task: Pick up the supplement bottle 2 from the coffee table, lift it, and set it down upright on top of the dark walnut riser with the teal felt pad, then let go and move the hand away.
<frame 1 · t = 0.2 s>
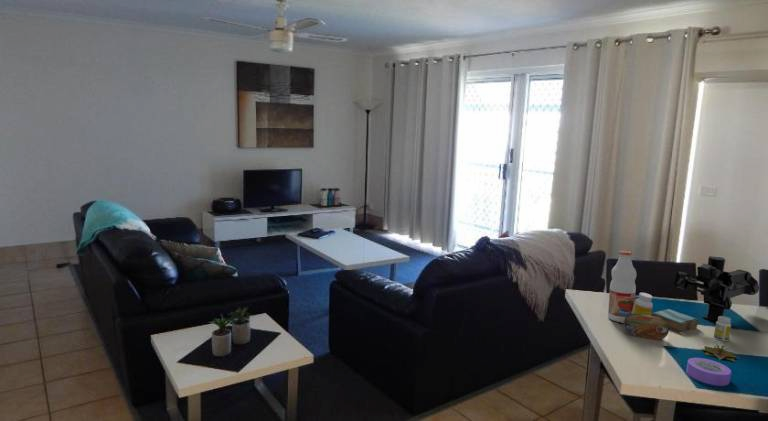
hand: (688, 289, 194), 17 cm above the table, tool horizontal, fingers open, 9 cm apart
riser: (673, 324, 202), on the table
masking tape: (707, 377, 159), on the table
supplement bottle 2: (720, 339, 190), on the table
supplement bottle: (637, 325, 199), on the table, touching fruit juice
fruit juice: (620, 319, 204), on the table, touching supplement bottle
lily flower: (718, 356, 176), on the table
tin: (644, 337, 188), on the table
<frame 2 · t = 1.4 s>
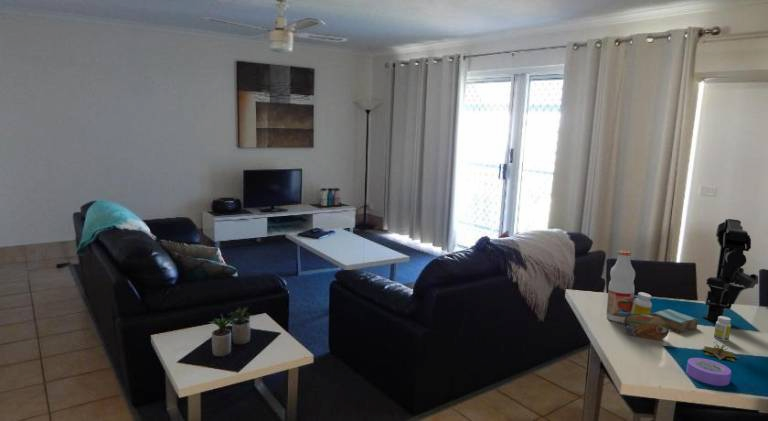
hand: (725, 304, 188), 14 cm above the table, tool pointing down, fingers open, 9 cm apart
supplement bottle: (636, 324, 199), on the table, touching fruit juice
fruit juice: (618, 319, 204), on the table, touching supplement bottle
everything else where it was.
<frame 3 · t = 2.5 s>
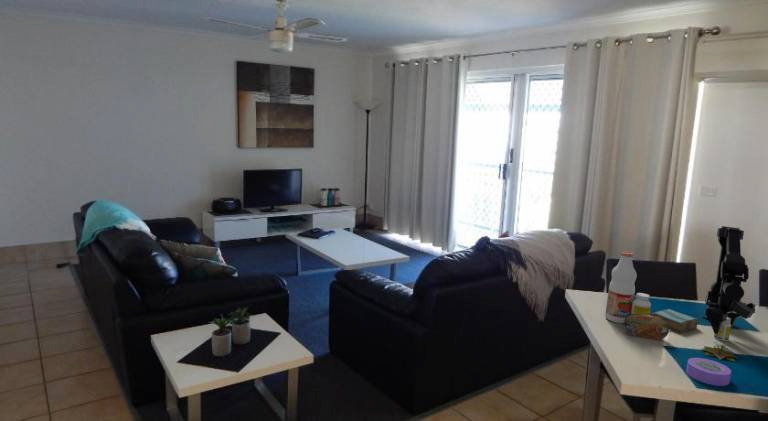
hand: (722, 331, 190), 3 cm above the table, tool pointing down, fingers open, 9 cm apart
supplement bottle: (638, 326, 199), on the table
fruit juice: (617, 319, 204), on the table
everything else where it was.
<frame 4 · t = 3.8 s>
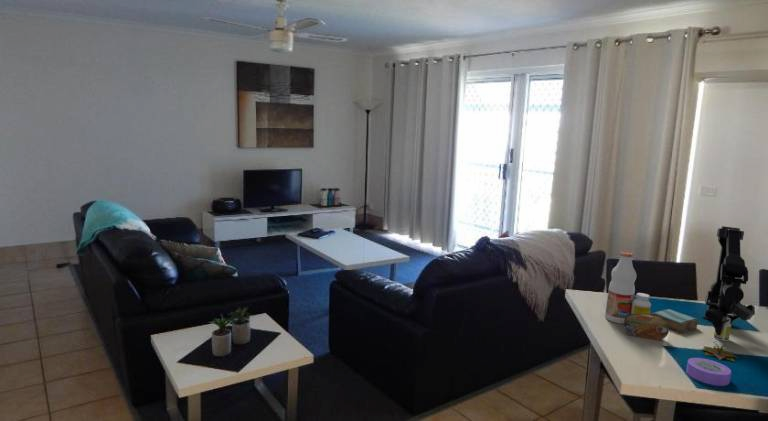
hand: (721, 333, 190), 2 cm above the table, tool pointing down, fingers closed on supplement bottle 2, 5 cm apart
supplement bottle 2: (720, 339, 190), on the table, touching gripper
everything else where it was.
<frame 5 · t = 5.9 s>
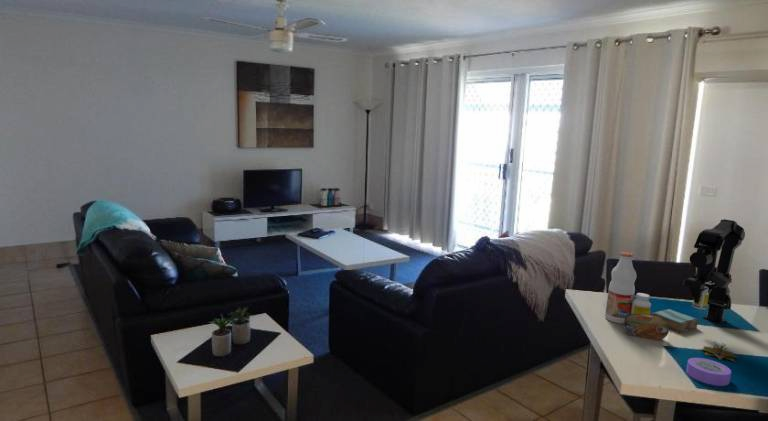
hand: (699, 302, 194), 12 cm above the table, tool pointing down, fingers closed on supplement bottle 2, 5 cm apart
supplement bottle 2: (699, 307, 194), point 10 cm above the table, touching gripper
everything else where it was.
when the fingers open (7 cm above the table, at t = 8.0 s): supplement bottle 2 drops 1 cm, resting on riser.
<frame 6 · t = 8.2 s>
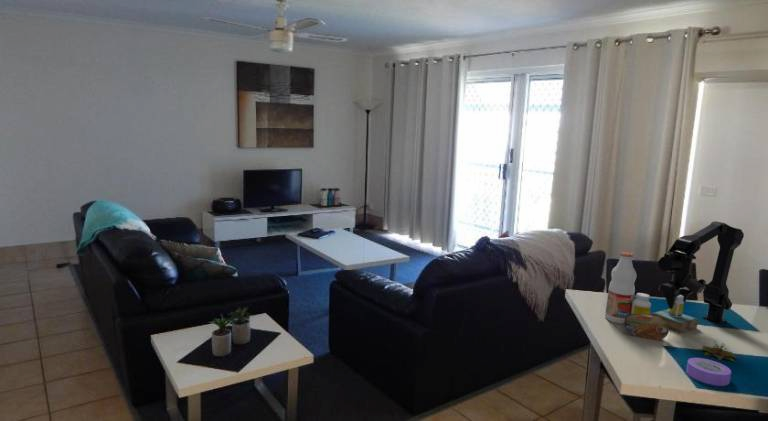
hand: (676, 307, 200), 7 cm above the table, tool pointing down, fingers open, 7 cm apart
supplement bottle 2: (674, 315, 201), point 4 cm above the table, touching riser
everything else where it was.
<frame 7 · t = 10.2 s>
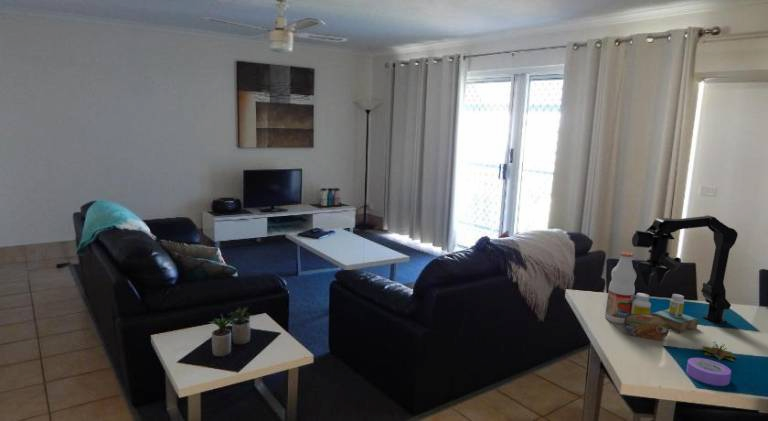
hand: (653, 284, 210), 13 cm above the table, tool pointing down, fingers open, 9 cm apart
nothing on the table moved.
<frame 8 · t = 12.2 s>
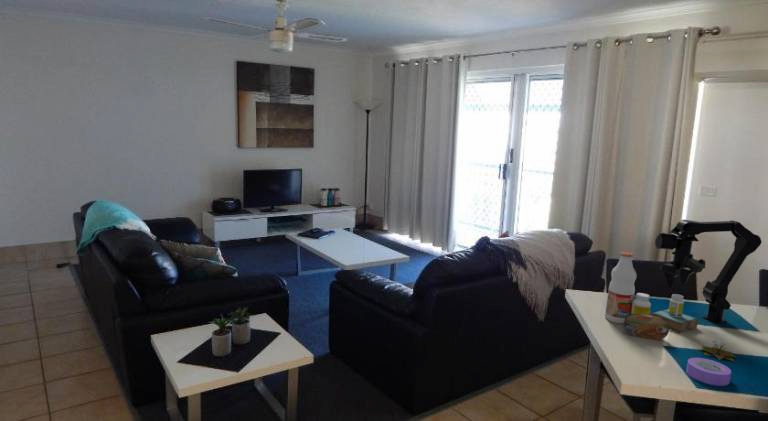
hand: (676, 286, 210), 13 cm above the table, tool pointing down, fingers open, 9 cm apart
nothing on the table moved.
at the end: supplement bottle 2 inside the target area on the riser (0.1 cm from its centre), point 3.8 cm above the riser's base; supplement bottle 2 tilted 1°; the gripper is holding nothing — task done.
